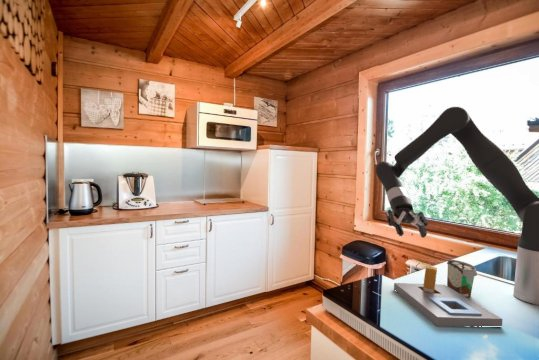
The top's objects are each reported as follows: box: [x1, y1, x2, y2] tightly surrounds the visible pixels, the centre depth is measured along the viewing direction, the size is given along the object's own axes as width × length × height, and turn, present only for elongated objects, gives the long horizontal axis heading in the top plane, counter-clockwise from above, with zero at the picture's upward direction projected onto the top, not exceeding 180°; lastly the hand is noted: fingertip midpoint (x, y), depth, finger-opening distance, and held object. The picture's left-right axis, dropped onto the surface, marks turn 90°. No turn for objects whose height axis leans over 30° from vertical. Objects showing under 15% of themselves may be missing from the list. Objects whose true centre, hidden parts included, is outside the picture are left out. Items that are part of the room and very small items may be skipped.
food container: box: [446, 258, 478, 299], centre depth 94 cm, size 12×6×10 cm, turn 168°
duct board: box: [393, 282, 503, 328], centre depth 83 cm, size 18×22×3 cm
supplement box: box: [423, 265, 438, 293], centre depth 89 cm, size 3×3×10 cm
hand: (413, 235), depth 100 cm, fingers open, 8 cm apart
